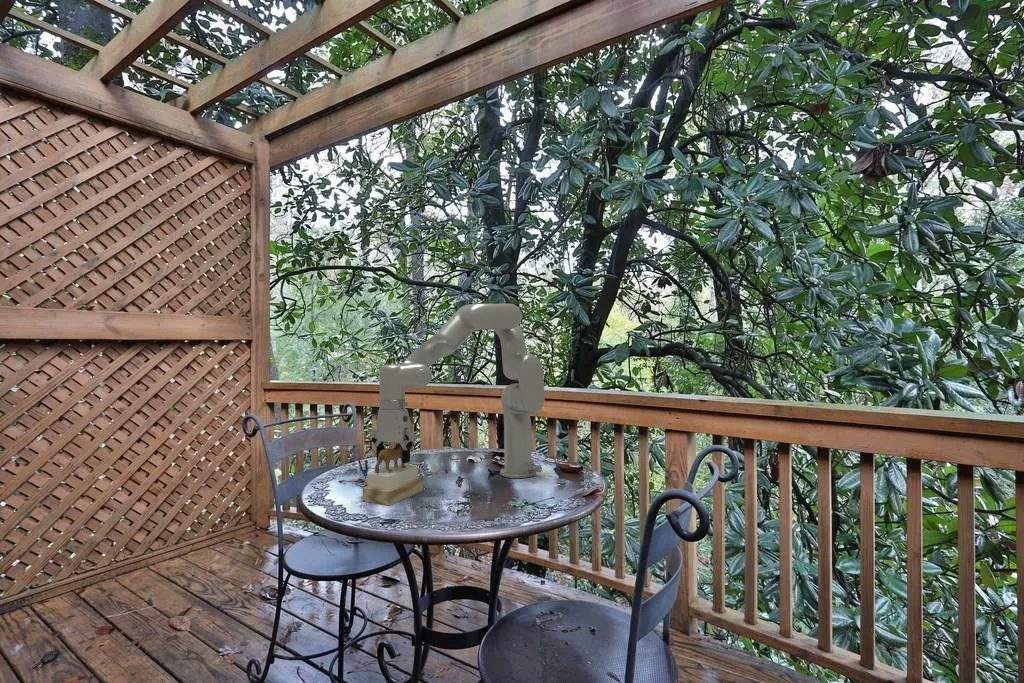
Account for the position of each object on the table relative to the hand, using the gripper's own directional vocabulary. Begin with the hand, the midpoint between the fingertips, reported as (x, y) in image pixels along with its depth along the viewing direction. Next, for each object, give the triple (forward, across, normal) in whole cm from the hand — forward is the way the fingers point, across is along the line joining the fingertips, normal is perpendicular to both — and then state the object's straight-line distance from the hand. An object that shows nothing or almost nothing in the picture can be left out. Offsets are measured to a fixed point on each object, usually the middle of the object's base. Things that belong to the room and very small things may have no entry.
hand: (393, 461), depth 158 cm
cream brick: (+7, 0, 0) cm, 7 cm away
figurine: (+11, +19, -8) cm, 23 cm away
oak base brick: (+11, 0, 0) cm, 11 cm away
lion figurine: (+3, +1, 0) cm, 3 cm away
